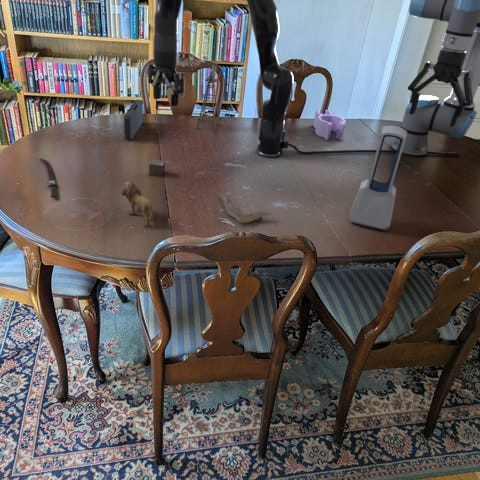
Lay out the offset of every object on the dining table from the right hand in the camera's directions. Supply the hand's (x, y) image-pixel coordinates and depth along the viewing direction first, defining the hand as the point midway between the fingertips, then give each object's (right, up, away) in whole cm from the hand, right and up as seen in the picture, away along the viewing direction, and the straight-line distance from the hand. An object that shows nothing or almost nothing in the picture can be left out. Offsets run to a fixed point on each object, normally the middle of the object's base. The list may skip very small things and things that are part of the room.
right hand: (431, 119), depth 150 cm
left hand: (-86, +6, 0) cm, 86 cm away
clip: (-22, +11, +64) cm, 69 cm away
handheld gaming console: (-106, +6, +43) cm, 114 cm away
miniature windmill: (-76, +11, +55) cm, 94 cm away
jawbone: (-61, -29, -4) cm, 68 cm away
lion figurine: (-91, -32, -14) cm, 97 cm away
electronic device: (-22, -34, -4) cm, 40 cm away
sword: (-124, -19, +1) cm, 125 cm away
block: (-90, -16, +12) cm, 92 cm away
